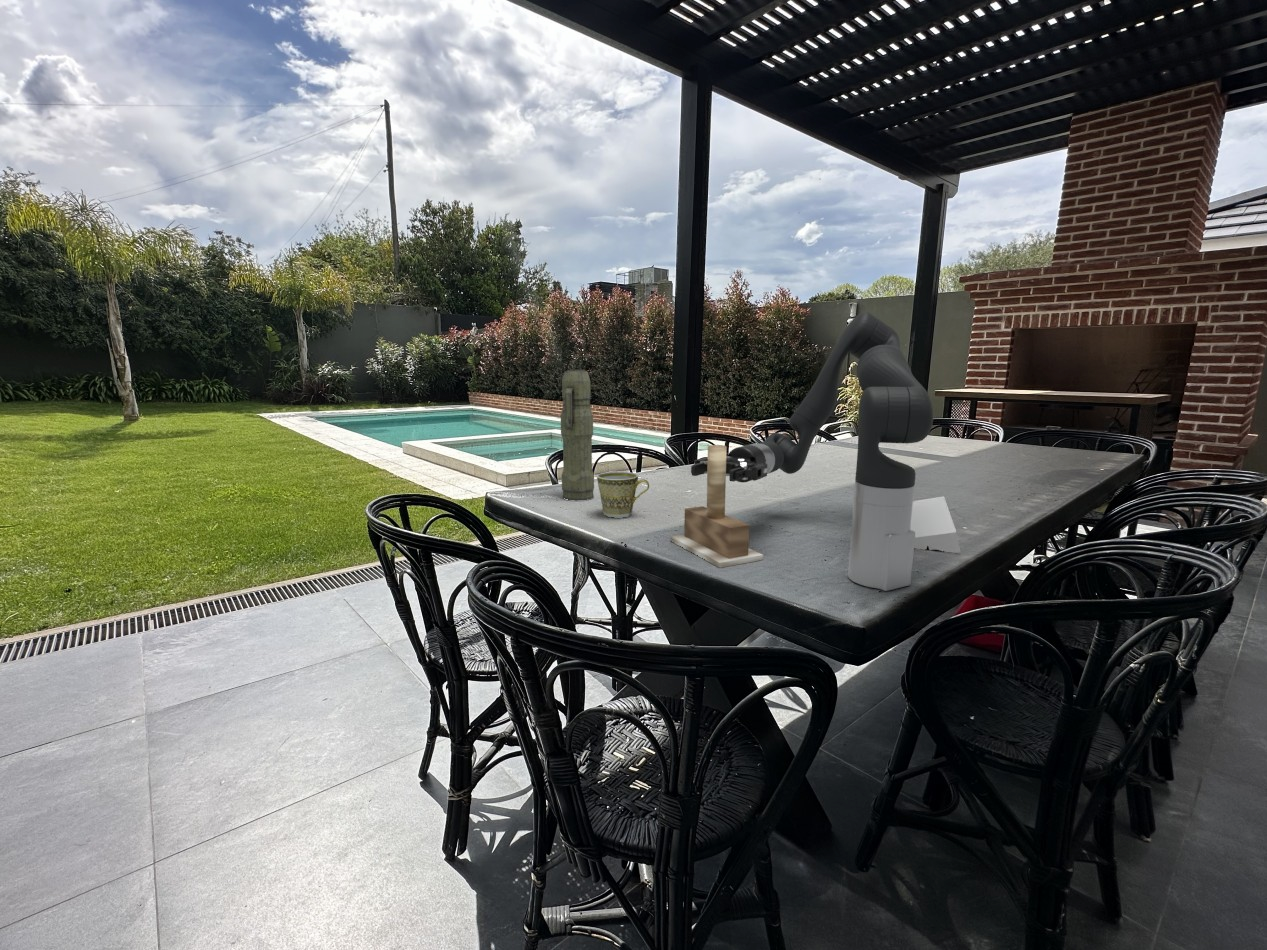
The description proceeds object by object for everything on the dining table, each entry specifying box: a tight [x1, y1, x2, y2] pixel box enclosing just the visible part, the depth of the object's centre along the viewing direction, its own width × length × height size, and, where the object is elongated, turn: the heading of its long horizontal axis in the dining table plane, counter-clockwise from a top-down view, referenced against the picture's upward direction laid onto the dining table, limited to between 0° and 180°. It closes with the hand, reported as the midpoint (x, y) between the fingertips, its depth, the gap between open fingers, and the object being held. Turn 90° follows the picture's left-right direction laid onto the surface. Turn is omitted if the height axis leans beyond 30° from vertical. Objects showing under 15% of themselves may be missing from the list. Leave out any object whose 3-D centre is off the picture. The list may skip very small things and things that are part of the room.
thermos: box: [560, 369, 595, 501], centre depth 158 cm, size 9×12×35 cm
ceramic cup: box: [596, 471, 650, 519], centre depth 142 cm, size 13×10×10 cm
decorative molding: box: [910, 496, 961, 553], centre depth 132 cm, size 34×5×10 cm
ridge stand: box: [670, 506, 764, 568], centre depth 116 cm, size 18×10×7 cm, turn 26°
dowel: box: [706, 444, 728, 519], centre depth 114 cm, size 4×4×14 cm
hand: (711, 473), depth 112 cm, fingers open, 8 cm apart
